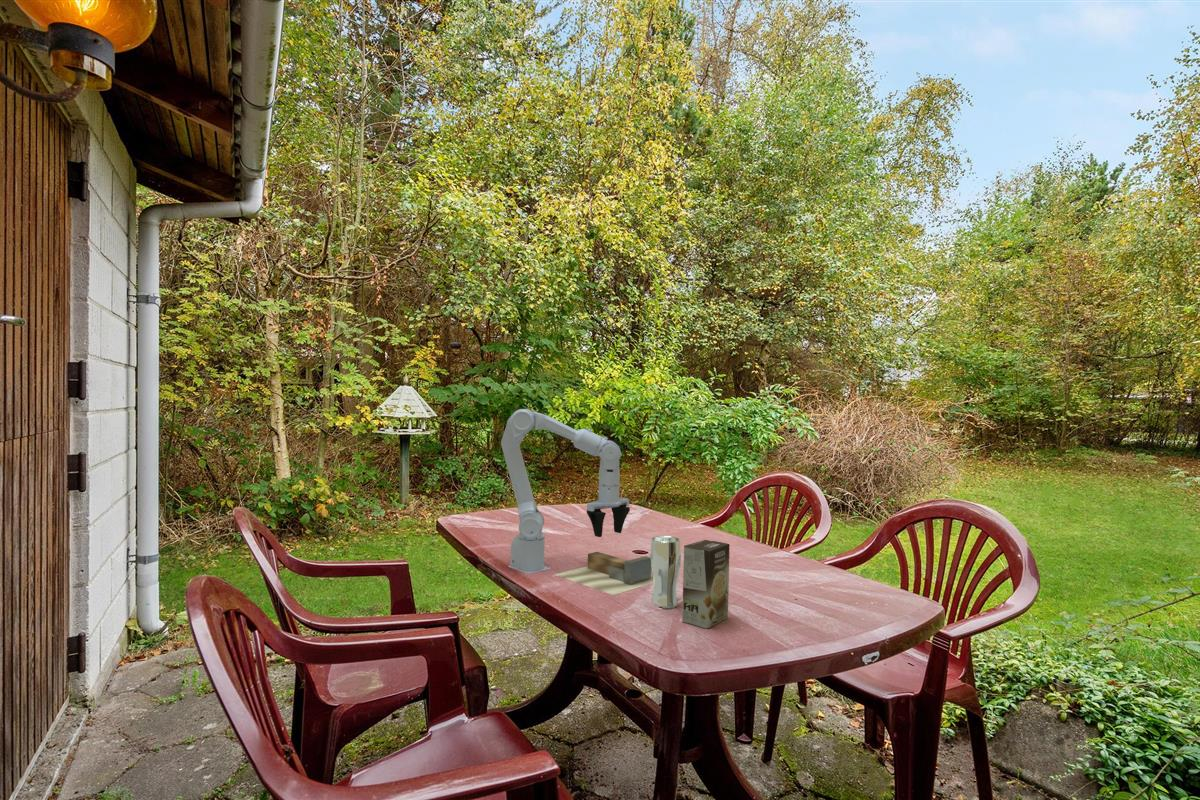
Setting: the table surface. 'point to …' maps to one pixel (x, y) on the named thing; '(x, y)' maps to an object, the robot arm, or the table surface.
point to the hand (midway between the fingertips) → (608, 534)
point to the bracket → (632, 571)
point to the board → (600, 580)
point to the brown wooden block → (604, 562)
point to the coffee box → (705, 583)
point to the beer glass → (665, 570)
